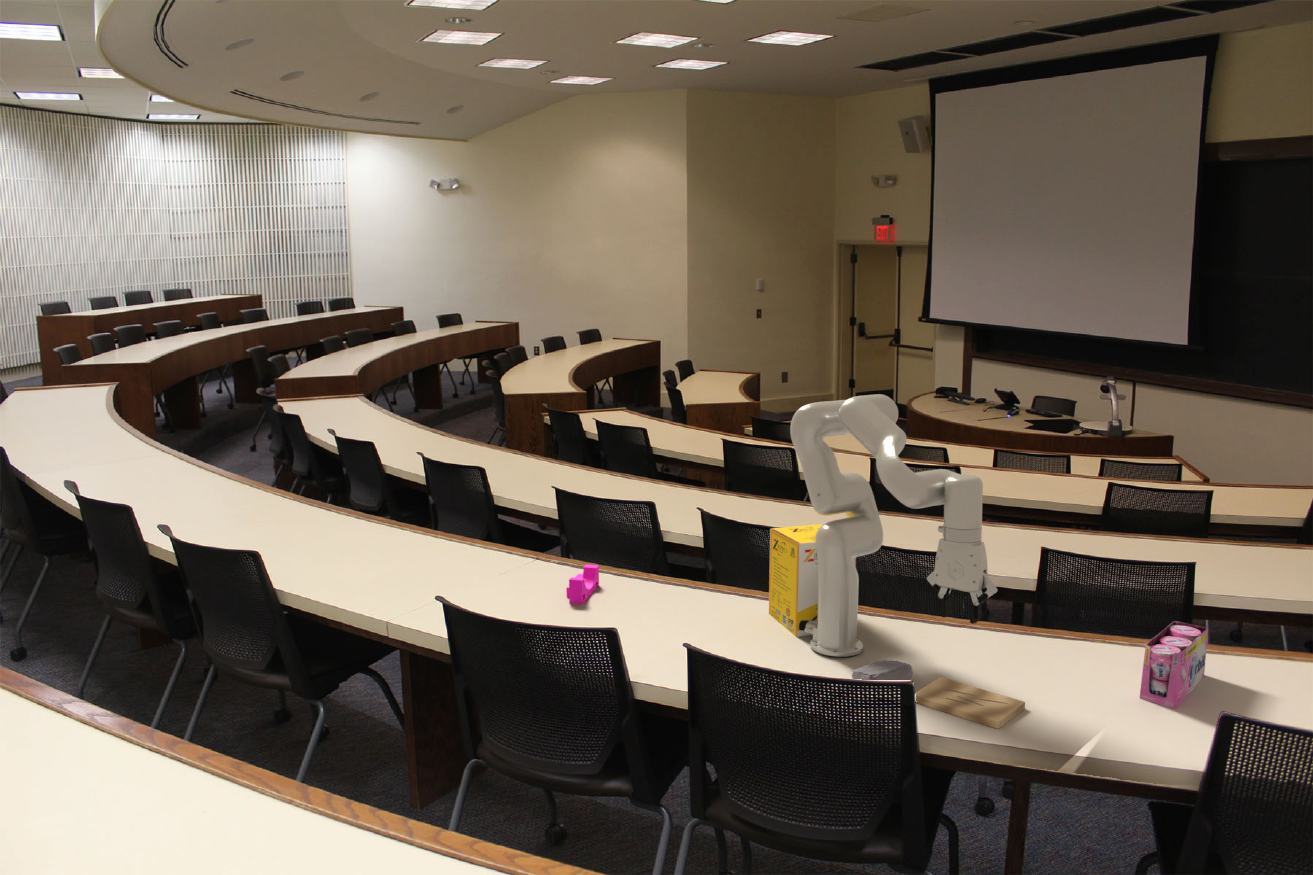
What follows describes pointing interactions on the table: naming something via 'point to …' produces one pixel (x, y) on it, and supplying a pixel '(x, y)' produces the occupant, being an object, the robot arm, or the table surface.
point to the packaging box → (794, 577)
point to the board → (969, 702)
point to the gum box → (1173, 664)
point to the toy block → (583, 584)
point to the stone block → (884, 671)
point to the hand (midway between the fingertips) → (960, 618)
